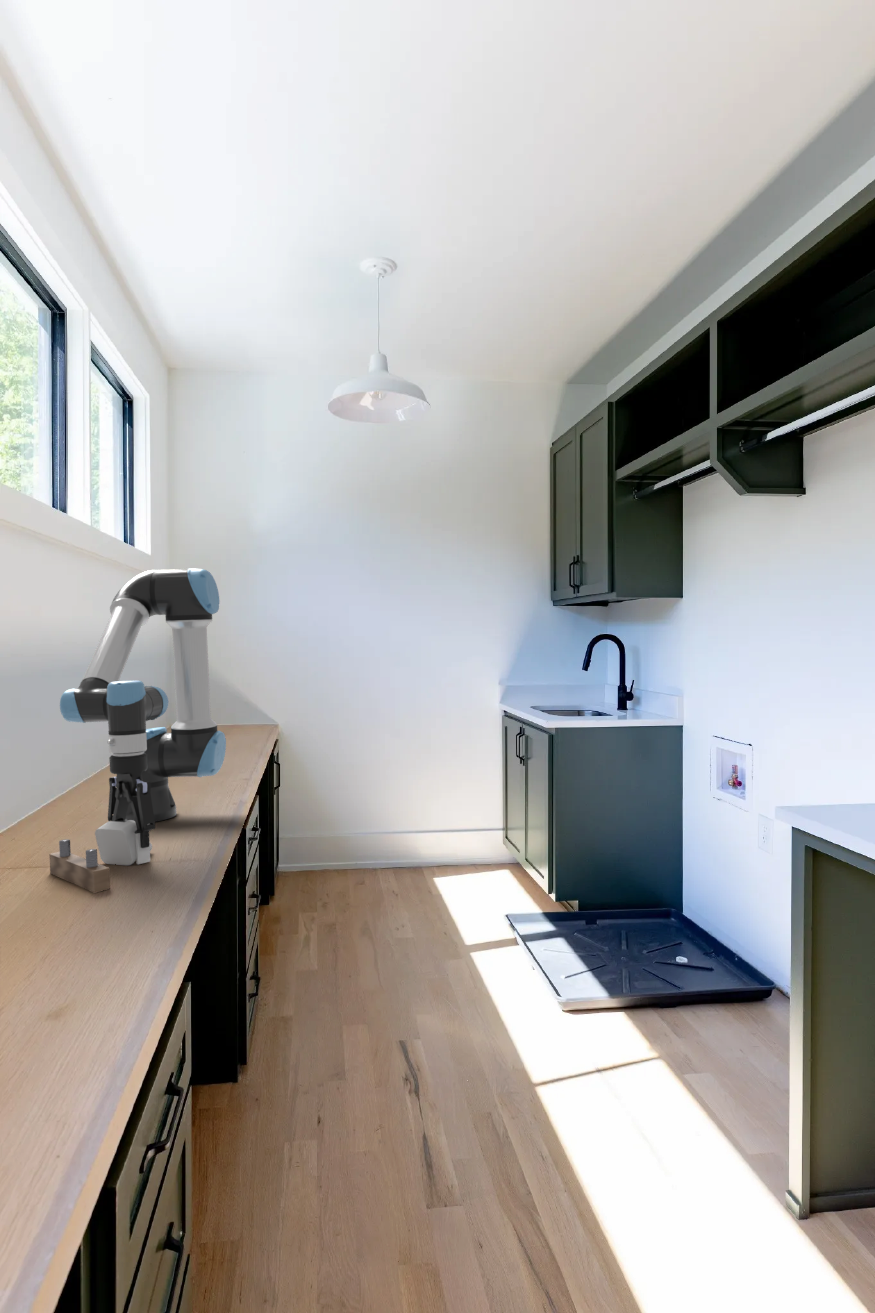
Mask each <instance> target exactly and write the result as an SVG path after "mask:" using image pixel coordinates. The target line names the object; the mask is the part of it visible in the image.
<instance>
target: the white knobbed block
mask: <svg viewBox="0 0 875 1313" xmlns="http://www.w3.org/2000/svg"><path fill="white" fill-rule="evenodd" d="M136 830H137V827H136V823H135V821H133V820H128V821H126V822H115V821H107V822H105V823H104V824H102V825H101V826H99V827H98V828H97V829H95V831H94V835H95V840H96V845H97V850H98V852H99V857H100V860H101V861H102V862H103V864H105V865H106V864H107V865H115V864H116V865H118V866H131V865H133V864H134V863H135V862H136V840H135V833H134V832H135V831H136ZM151 850H153V845H152V842H150V852H151Z"/></svg>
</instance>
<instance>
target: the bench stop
mask: <svg viewBox="0 0 875 1313" xmlns="http://www.w3.org/2000/svg"><path fill="white" fill-rule="evenodd" d="M58 845H59V851H57V852H52V853H48V854H49V873H50V875H53V876H55V877H57V878H60V879H61V880H64V881H67V882H68V883H71V884H73V885H76V886H77V887H80V888H82V889H85V888H86V889H85V890H87V891H89V890H90V891H89V892H91V893H94V894H95V893H99V892H103V890H104V891H106V890H110V889H111V880H110V879H111V876H110V872H111V871H110V867H109V866H105V865H103V864H100V863H99V862H98V848H97V849H96V848H91V849H89V848H88V849H86V850H85V857H82V856H79V855H77V854H74V853H71V839H61V840H58ZM109 888H110V889H109Z"/></svg>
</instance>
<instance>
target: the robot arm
mask: <svg viewBox="0 0 875 1313" xmlns="http://www.w3.org/2000/svg"><path fill="white" fill-rule="evenodd" d="M219 609H220V594H219V589H218V586H217V583H216V580H215V578H214V576H213V575H212V573H211V572H210V571H209V570H207V569H203V568H192V567H191V568H181V569H180V568H179V569H178V568H177V569H176V568H175V569H151V570H150V569H149V570H147V571H143V572H141V573H139V574H137V575H135V576H134V577H132V578H131V579H130V580H129V581H127V582H126V583H125V584H124V585H123V586H122V587H121V588H120V589H119V591H117V593H116V594H115V596H114V598H113V599H112V601H111V604H110V606H109V614H110V617H109V619H108V620H107V623H106V626H105V628H104V630H103V633H102V635H101V637H100V639H99V640H98V644H97V645H96V648H95V650H94V653H93V654H92V657H91V660H90V662H89V664H88V666H87V669H86V670H85V672H84V675H83V677H82V680H81V682H80V684H79V686H78V688H69V689H67V690H65V691H64V692H63V693H62V694H61V697H60V698H59V699H60V701H59V709H60V710H59V711H60V713H61V715H62V717H63V719H64V720H65V721H67V722H70V723H83V724H84V723H85V724H86V723H96V722H97V723H100V722H101V723H102V722H103V723H104V722H107V724H108V740H107V744H108V747H109V748H108V751H109V753H110V754H112V755H110V756H109V773H111V774H112V775H113V774H114V775H116V776H111V777H109V778H108V783H109V784H108V785H109V795H108V806H107V807H108V809H107V811H108V812H107V820H108V821H115V822H126V821H128V820H133V821H135V823H136V827H137V830H136V831H135V832H134V833H135V840H136V861H135V862H136V865H141V864H145V863H149V862H151V851H150V843H151V842H150V832H151V831H152V830H155V829H156V822H162V821H165V820H169V819H171V818H174V817H175V816H177V804H176V802H175V800H174V797H173V795H172V791H171V789H170V787H169V786H170V785H169V778H183V777H184V778H188V777H191V778H192V777H195V778H196V777H198V778H202V777H211V776H212V777H213V776H215V775H217V774H218V773H219V771H220V770H221V768H222V766H223V764H224V761H225V757H226V749H227V748H226V747H227V739H226V735H225V733H224V731H223V732H222V731H221V730H218V723H217V722H216V721H215V720H213V718H212V716H211V714H212V713H211V712H212V711H211V692H210V690H211V688H210V673H209V653H208V651H209V648H208V626H209V625H210V623H212V622H213V615H214V614H216V613H218V611H219ZM161 615H162V616H165V623H167V625H168V626H169V627H171V629H172V648H173V650H172V651H173V669H174V671H173V672H174V690H175V710H176V712H175V713H176V721H175V722H174V723H173V724H172V725H171V727H170V728H171V730H170V732H168V730H167V727H165V726H162V727H160V726H159V727H152V728H147V723H146V722H148V721H155V719H158V718H159V717H161V716H163V715H164V714H165V713H166V712H167V710H168V708H169V698H168V695H167V693H166V692H165V690H163V689H162V688H161V687H158V686H152V685H150V686H149V685H148V686H147V685H146V686H145V684H144V682H143V681H141V680H120V679H121V676H122V674H123V672H124V669H125V667H126V665H127V662H128V659H129V658H130V655H131V652H132V650H133V648H134V645H135V642H136V639H137V637H138V635H139V632H140V631H141V627H142V626H144V625H147V623H148V621H149V619H150V617H152V616H153V617H154V616H161ZM108 821H107V822H108Z"/></svg>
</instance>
